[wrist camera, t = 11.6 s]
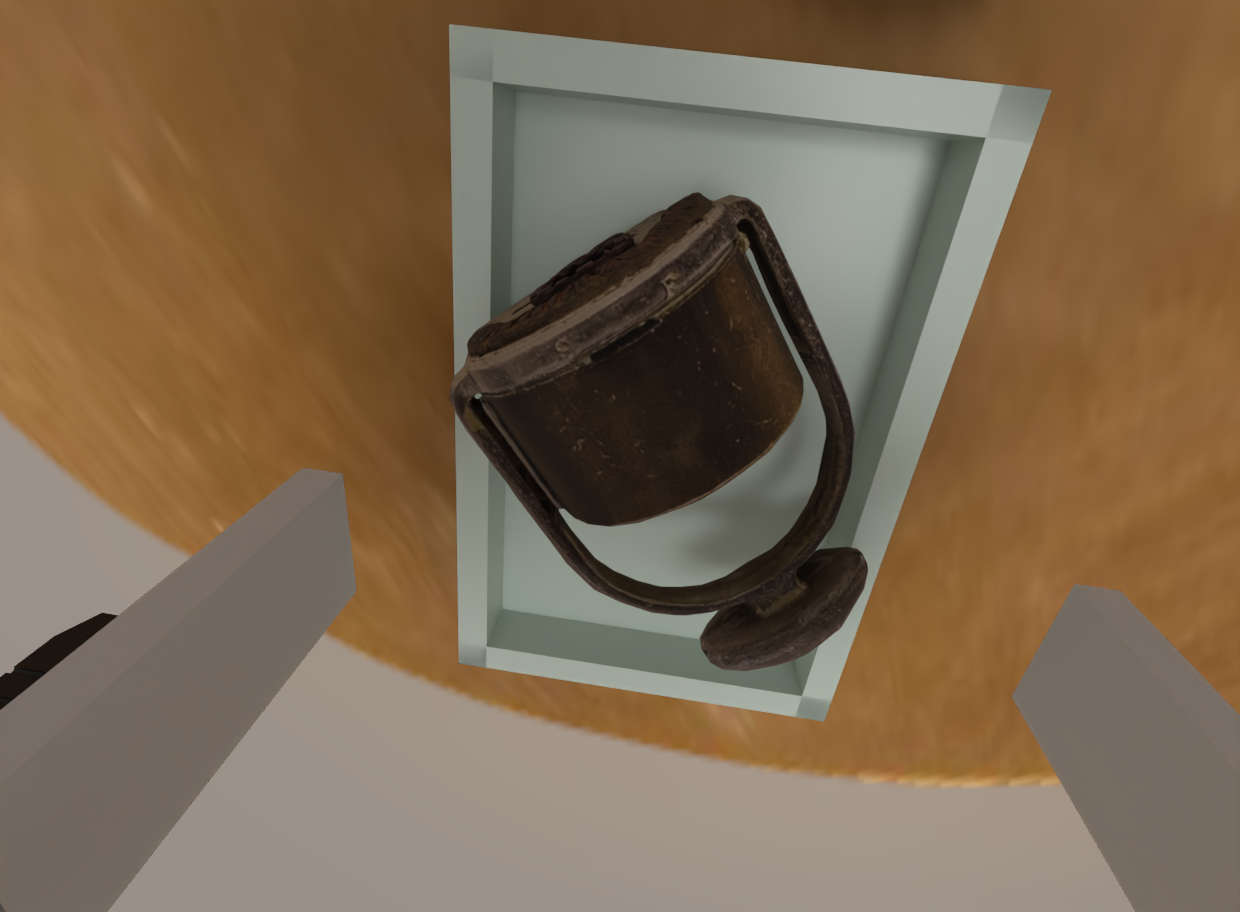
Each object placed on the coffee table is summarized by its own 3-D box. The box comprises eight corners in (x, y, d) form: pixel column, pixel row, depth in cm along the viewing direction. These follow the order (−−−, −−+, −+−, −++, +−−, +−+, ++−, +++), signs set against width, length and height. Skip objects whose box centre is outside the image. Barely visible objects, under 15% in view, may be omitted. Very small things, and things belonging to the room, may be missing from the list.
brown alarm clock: (952, 67, 10) (359, 148, 10) (1026, 759, 12) (513, 880, 11) (793, 201, 18) (444, 254, 17) (850, 624, 19) (531, 691, 18)
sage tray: (989, 102, 16) (1051, 89, 13) (808, 658, 24) (824, 721, 21) (489, 47, 16) (449, 24, 13) (484, 608, 25) (458, 663, 22)
